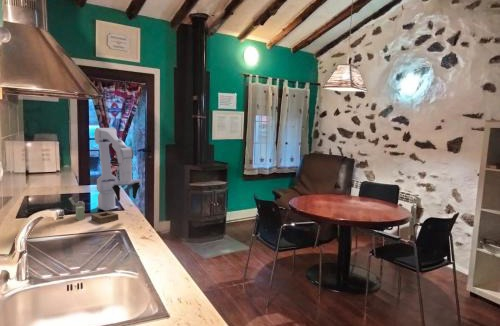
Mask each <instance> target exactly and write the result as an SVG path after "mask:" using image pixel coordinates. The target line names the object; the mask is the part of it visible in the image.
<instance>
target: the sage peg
mask: <svg viewBox="0 0 500 326" xmlns="http://www.w3.org/2000/svg"><path fill="white" fill-rule="evenodd" d="M75 219H76V220H77V221H83V220H85V219H86V218H85V211H84V207H82V206H80V207H76V206H75Z"/></svg>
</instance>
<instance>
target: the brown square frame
mask: <svg viewBox="0 0 500 326" xmlns="http://www.w3.org/2000/svg"><path fill="white" fill-rule="evenodd" d="M90 216H91V217H90V219H91V221H93V222H95V223H98V224H100V225H102V224H105V223H108V222H113V221H117V220H119V214H118V213H115V212H113V211H111V210H106V211H103V212H98V213H93V214H91V215H90Z"/></svg>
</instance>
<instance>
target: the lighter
mask: <svg viewBox="0 0 500 326" xmlns="http://www.w3.org/2000/svg"><path fill="white" fill-rule="evenodd" d="M68 200H69V201H70V203H71V204H72V205H73V206H75V207H80V206H82V207H84V212H85V211H86V207H85V206H86V205H85V201H83V200H82V201H81V200H79V201H77V203H76V202H75V200H74V198H73V197H72V196H71V197H68Z"/></svg>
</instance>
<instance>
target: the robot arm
mask: <svg viewBox="0 0 500 326" xmlns="http://www.w3.org/2000/svg"><path fill="white" fill-rule="evenodd" d="M94 129H95V130H94V132H93V133H94V134H93V135H94V141H95V144H97V145H98V148H99V160H100V169H101V175H100V176H99V177H98V178H96V190H97V192H98V195H97V206H96V208H97V209H99V210H103V211H104V212H106V211H111V210H115V209H119V208H120V207H119V206H117V205H116V199H117V201H118V202H120V201H121V196H120V195H121V186H127V185H131V187H132V188H131V189H132V199H134V200H135V199H136V198H137V194H138V191H139V188H140V187H141V184H142V179H140V178H139V179H138V178H137V179H135V178H134V179H133V165H132V164H133V163H132V160H133V158H134V155H135V154H134V149H133V147H132V146H127V144H126V143H125V142H124V141H123V140H122V139H119V138H118V136H117V135H118V132H117V129H116V128H115V127H96V128H94ZM110 144H111V147H112V148H113V150H114V151H115V153H116V159H117V163H118V167H119V169H118V171H119V172H118V173H119V180H118V178H117V176H115V175H114V174H112V166H111V157H110V156H111V155H110Z"/></svg>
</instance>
